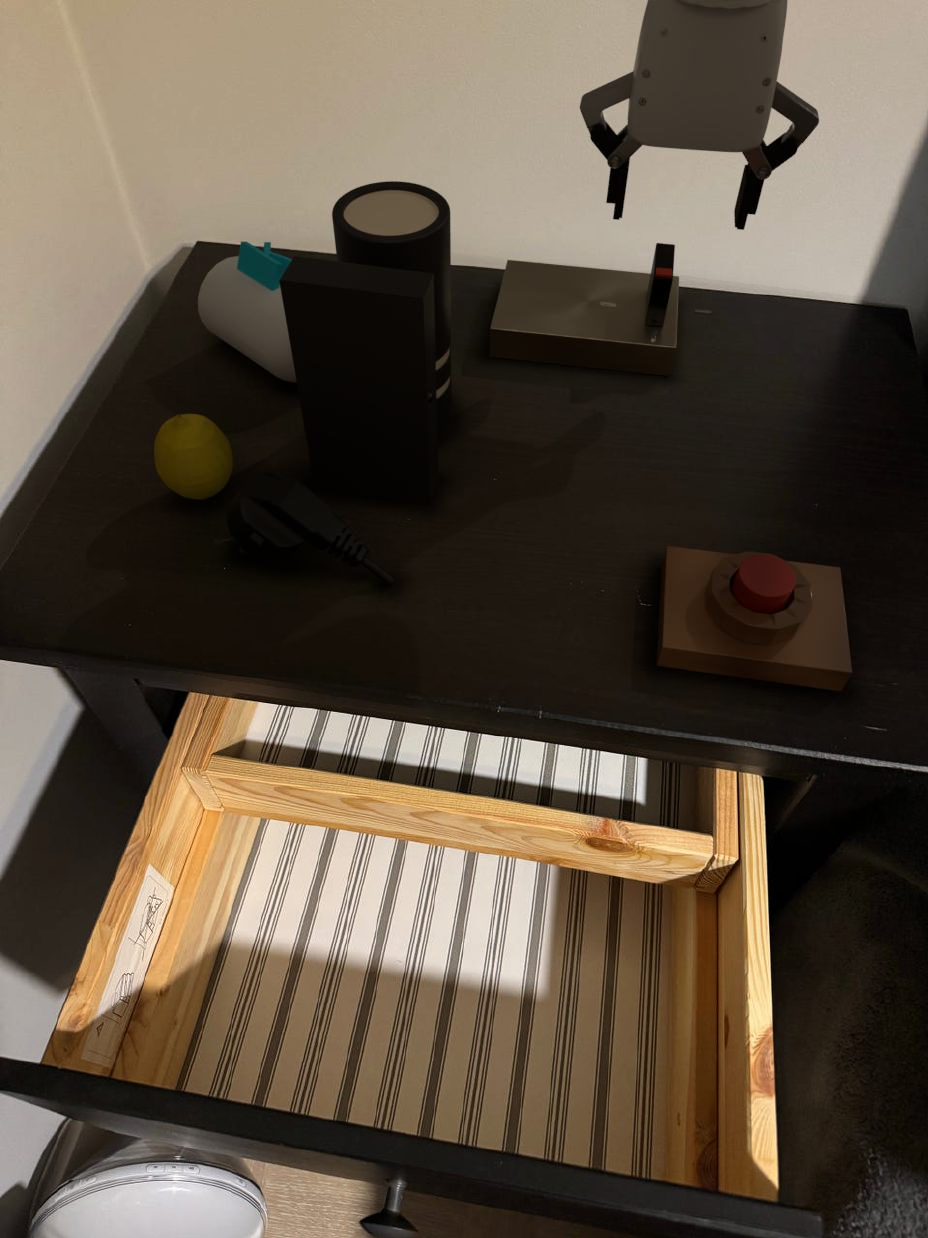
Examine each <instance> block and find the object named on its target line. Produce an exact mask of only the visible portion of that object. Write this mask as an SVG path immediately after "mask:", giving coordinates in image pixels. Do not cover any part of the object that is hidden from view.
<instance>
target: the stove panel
mask: <svg viewBox="0 0 928 1238" xmlns="http://www.w3.org/2000/svg"><path fill="white" fill-rule="evenodd" d="M650 275H651V273H648V272H637V271H628V270H627V271H626V270H617V269H606V268H598V267H597V268H596V267H587V266H586V267H585V266H576V265H567V264H554V263H546V262H535V261H534V262H533V261H526V260H525V261H523V260H516V259H515V260H513V259H507V260H506V265H505V269H504V272H503V276H502V281H501V284H500V288H499V291H498V292H499V293H498V296H497V300H496V304H495V307H494V312H493V316H492V320H491V323H490V327H489V349H488V350H489V353H488V356H489V358H496V359H507V360H515V361H525V362H533V363H544V364H552V365H561V366H570V367H582V368H589V369H598V370H600V369H601V370H607V371H608V370H609V371H617V372H625V373H637V374H646V375H654V376H663V377H670V376H671V373H672V370H673V365H674V360H675V356H676V351H677V340H678V319H679V315H678V313H679V292H680V290H679V289H680V276H679V275H673V282H672V286H671V291H670V296H669V301H668V306H667V310H666V315H665V320H664V325H663V326H655V325H646V324H645V316H646V305H647V294H648V286H649V281H650ZM694 314H699V315H701V314H702V315H711V314H712V310H706V309H697V308H695V309H694Z"/></svg>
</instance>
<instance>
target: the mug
mask: <svg viewBox="0 0 928 1238" xmlns="http://www.w3.org/2000/svg"><path fill="white" fill-rule="evenodd" d="M271 244H272V242H271V241H264V242H263V248H262V250H261V249H260V248H258V247H256V246H255V245H253V244H252V243H250V242H248V241H243V240H242V241H240V246H239V252H238V255H236V256H230V257H226V258H224V259H223V260H220V261H219V262H217V263H216V264H215V265H214V266H213V267H212V268H211V269H210V270H209V271H208V272H207V274H206V276H205V277H204V279H203V281H202V282H201V285H200V288H199V292H198V296H197V311H198V315H199V317H200V320H201V323H202V324H203V325H204V326H205V328H206V329H207V330H208V331H209V332H211V333H212V334H213V335H215V336H216V337H218V338H219V339H221V340H222V341H224V342H226V344H228V345H229V346H231V347H232V348H233V349H235V350H237V351H238V352H240V353H241V354H243V355H244V356H246V357H247V358H248V359H250V360H251V361H253V362H254V363H256V364H257V365H259V366H260V367H261V368H263V369H264V370H266V371H268V372H269V373H270V374H272V376H274V377H276V378H278V379H280V380H282V381H283V382H284V381H286V382H287V383H297V381H296V375H295V370H294V364H293V358H292V352H291V346H290V341H289V335H288V329H287V323H286V317H285V312H284V306H283V300H282V294H281V288H280V282H279V280H280V279H281V277H282V275H283V274H284V272H285V270H286V269H287V267H288V265H289V264H290V262H291V260H292V259H293V258H290V257H287V256H284V255H281V254H278V253H275V252H273V251H272V250H271V249H272V245H271Z"/></svg>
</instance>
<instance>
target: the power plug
mask: <svg viewBox="0 0 928 1238" xmlns="http://www.w3.org/2000/svg"><path fill="white" fill-rule="evenodd" d="M226 525H227V528H228V531H229V534H230V536H231V537H232V538H234V539H235V540H236V541H237V542H239V543H240V545H239V548H238V552H239V553H240V555H243V556H247V555H249V556H252V555H253V554H255V555H256V556H257V557H259V558H260V559H261V560H263V561H264V562H265V561H266V562H276V561H277V562H278V561H282V560H284V559H287V558H289V557H290V556H291V555H293V554H294V553H295V552H296V551H297V550H298V549H299V548H300V547H301V546H302V545H304V544H305V543H308V544H310V545H311V546H313V547H315V548H316V549H318V550H320V551H322V552H325V551H326V550H327V549H328V548H329V547H330V548H329V549H328V550H327V552H326V554H328V555H329V556H331V555H333V554H334V555H333V558H335V559H336V560H337V559H339V558H340V557H342V558H341V560H340V561H341V562H342V563H346V562H348V563H347V565H348V566H350V567H351V568H357V567H359V566H360V565H361V566H363V567H364V568H365V569H367V570H368V571H369V572H371V573H372V574H373V575H374V576H376V577H377V578H378V579H379V580H381V581H382V582H383V583H385V584H386V585H387V586H391V585H392V584H393V582H394V581H395V578H394V577H393V576H392V575H391V574H389V572H387V571H386V570H384V569H383V568H382V567H381V566H379V565H378V564H377V563H375V562H374V561H373V560H372V559H370V557H368V556H367V555H368V554H369V551H370V550H369V548H368V547H367V545H366V544H365V543H363V544H361V543H362V540H361V539H360V538H359V537H358V538H357V539H355V538H356V537H357V535H356V533H354V531H353V532H352V533H350V531H351V528H350V526H346V527H345V528H344V526H345V525H346V523H345V521H344V520H342V518H340V517H339V516H337V515H336V514H335V513H334V512H333V507H332V506H331V505H330V504H329V503H328V502H326V501H324V499H322V498H321V497H319V496H318V495H317V494H315V492H313V491H312V490H310V489H309V488H308V487H307V486H305V485H304V484H303V483H302V482H301V481H299V480H298V479H296V478H291V477H290V478H288V479H287V478H285V477H284V476H283V475H281V474H280V473H276V472H258V473H257V474H255V475H254V476H252V477H250V478H249V479H248V480H247V481H246V482H245V484H244V485H243V487H242V488H241V489H240V490H239V491H238V492H237V494H236V495H235V497H234V498H233V499H232V501H231V502H229V505H228V507H227V510H226ZM343 528H344V529H343ZM342 529H343V530H342ZM354 539H355V540H354Z"/></svg>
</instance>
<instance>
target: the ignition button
mask: <svg viewBox="0 0 928 1238" xmlns="http://www.w3.org/2000/svg"><path fill="white" fill-rule="evenodd" d="M779 558H780V557H779ZM779 558H776V557H774V556H770V555H754V556H751V557H748V558H747V559H745V560H744V561H743V562H742V563H741V565H740V567H739V570H738V572H737V575H736V578H735V580H734V583H733V593H734V596H735V598H736V599H737V601H738V602H739V603H740V604H741V605H742V606H744V607H745V608H747V609H749V610H751V611H754V612H757V613H764V614H767V613H774V612H777V611H779V610H781V609H782V608H783V607H784V606H785V605H786V603H787V601H788V599H789V597H790V595H791V593H792V591H793V588H794V586H795V583H796V578H795V574H794V572H793V570H792V569H791V567H790V566H789V565H788V564H787V563H785V562H784V561H782V560H781V559H782V558H781V559H779Z"/></svg>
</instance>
